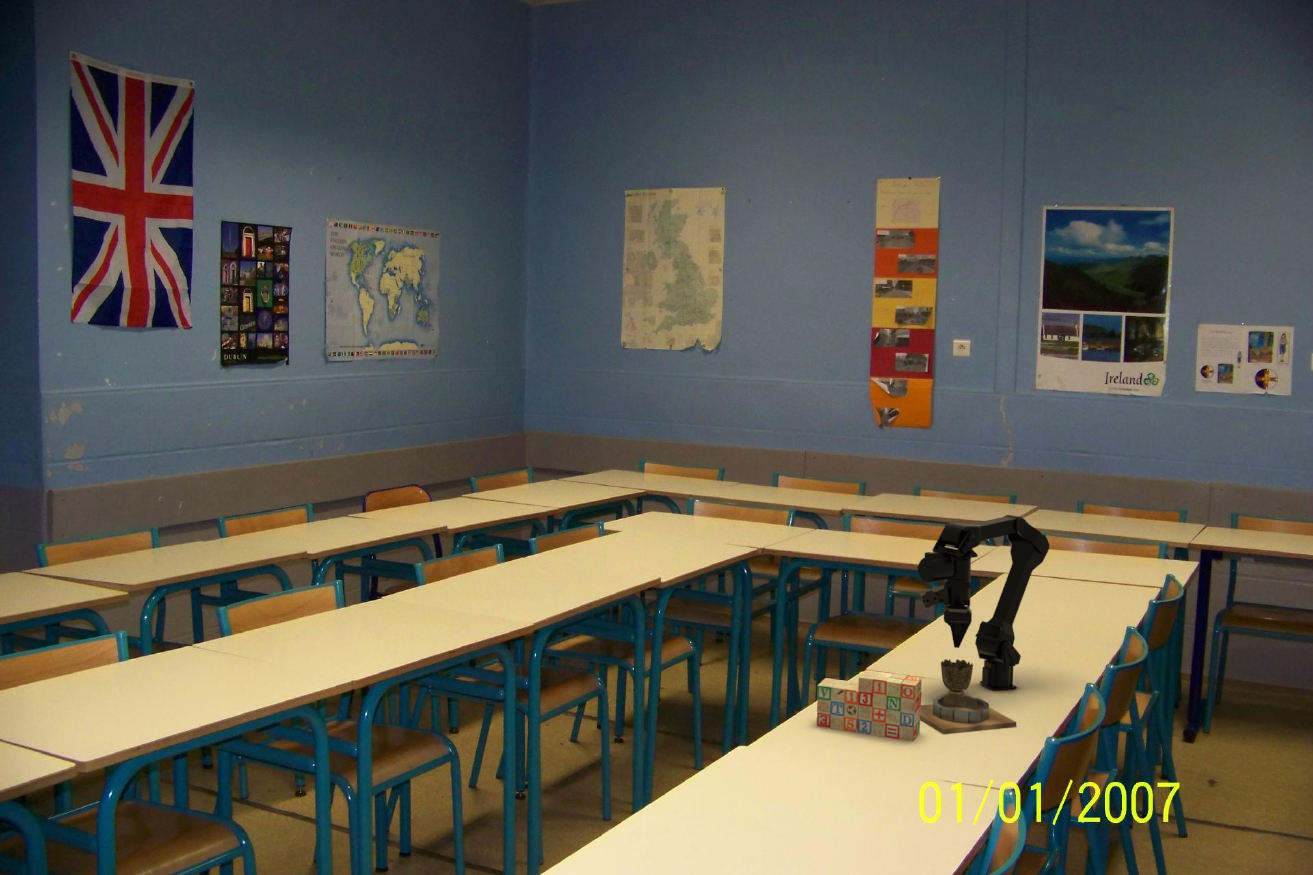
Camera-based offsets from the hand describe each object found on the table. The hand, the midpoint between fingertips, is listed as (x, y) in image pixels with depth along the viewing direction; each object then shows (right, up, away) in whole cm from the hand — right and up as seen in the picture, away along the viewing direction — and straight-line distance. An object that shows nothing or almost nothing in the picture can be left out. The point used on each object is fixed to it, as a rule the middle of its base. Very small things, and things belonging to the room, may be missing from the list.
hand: (956, 642), depth 278 cm
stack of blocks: (-25, -15, -23) cm, 37 cm away
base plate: (-3, -14, -16) cm, 21 cm away
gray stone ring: (-3, -14, -16) cm, 21 cm away
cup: (0, -13, +1) cm, 13 cm away
